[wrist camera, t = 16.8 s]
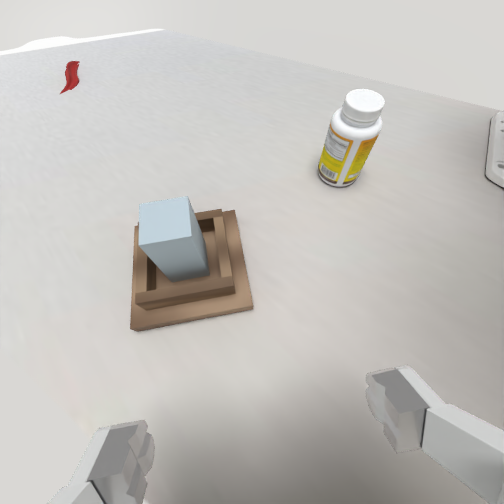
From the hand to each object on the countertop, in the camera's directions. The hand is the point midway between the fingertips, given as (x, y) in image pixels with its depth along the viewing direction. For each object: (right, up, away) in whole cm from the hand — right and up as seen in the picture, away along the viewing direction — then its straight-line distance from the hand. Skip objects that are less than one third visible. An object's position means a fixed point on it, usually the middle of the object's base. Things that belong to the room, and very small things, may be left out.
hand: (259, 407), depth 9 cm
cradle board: (-7, +4, +19) cm, 21 cm away
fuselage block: (-7, +5, +17) cm, 19 cm away
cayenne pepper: (-35, +39, +39) cm, 66 cm away
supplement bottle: (+12, +17, +25) cm, 32 cm away
